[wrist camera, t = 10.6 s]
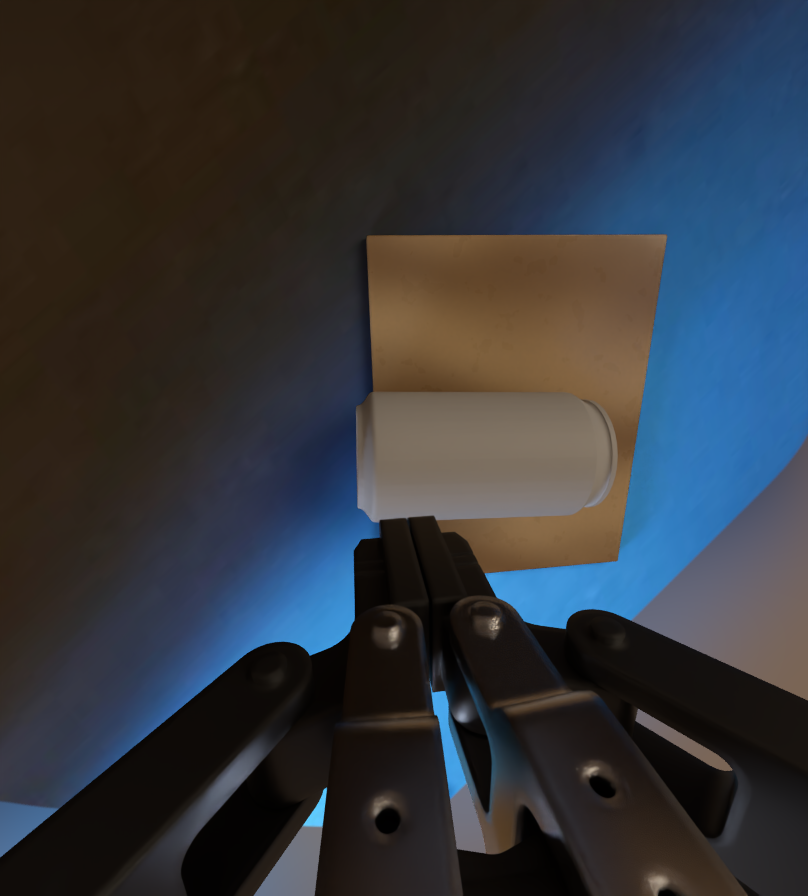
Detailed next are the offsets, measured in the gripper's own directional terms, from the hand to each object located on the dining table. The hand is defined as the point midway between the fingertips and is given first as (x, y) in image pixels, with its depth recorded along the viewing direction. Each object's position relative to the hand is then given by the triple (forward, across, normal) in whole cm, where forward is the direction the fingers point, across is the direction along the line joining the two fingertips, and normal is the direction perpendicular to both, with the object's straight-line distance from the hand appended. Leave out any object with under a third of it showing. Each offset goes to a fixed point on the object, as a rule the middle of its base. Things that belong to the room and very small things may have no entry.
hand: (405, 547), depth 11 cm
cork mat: (+13, -8, 0) cm, 15 cm away
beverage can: (+10, +1, +1) cm, 10 cm away
